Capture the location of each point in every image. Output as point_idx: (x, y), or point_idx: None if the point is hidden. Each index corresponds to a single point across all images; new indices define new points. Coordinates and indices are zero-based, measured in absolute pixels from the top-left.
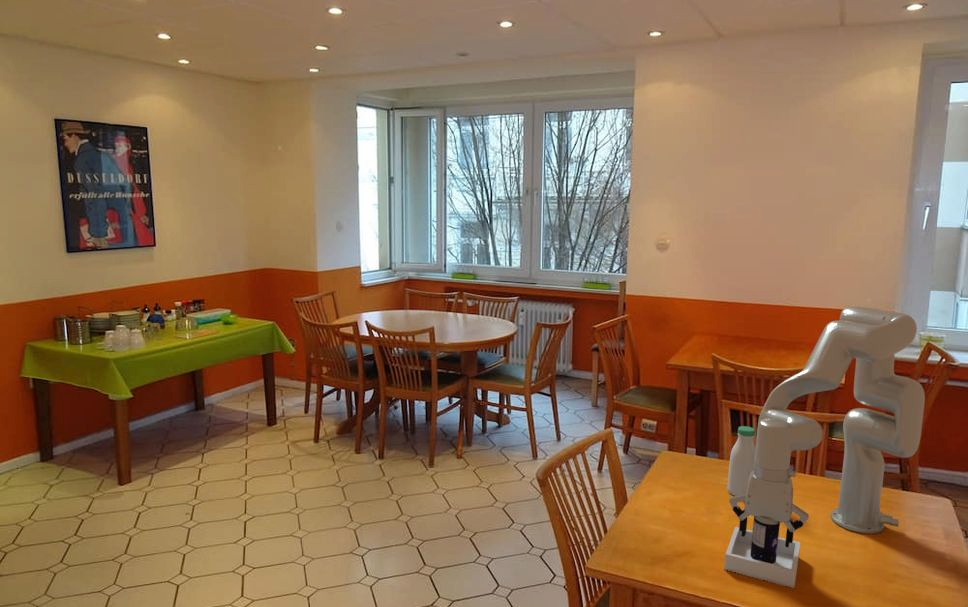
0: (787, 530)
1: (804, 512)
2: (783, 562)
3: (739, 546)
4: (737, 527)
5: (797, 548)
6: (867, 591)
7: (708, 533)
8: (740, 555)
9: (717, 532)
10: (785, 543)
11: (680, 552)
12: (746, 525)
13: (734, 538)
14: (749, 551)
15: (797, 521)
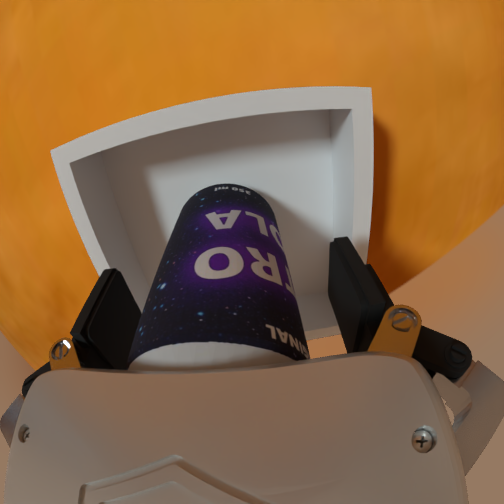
0: (356, 350)
1: (493, 426)
2: (298, 184)
3: (118, 176)
4: (58, 151)
5: (365, 164)
6: (487, 195)
7: (21, 155)
8: (151, 238)
9: (32, 123)
10: (332, 305)
11: (52, 300)
12: (111, 310)
13: (100, 256)
14: (161, 188)
15: (436, 373)
